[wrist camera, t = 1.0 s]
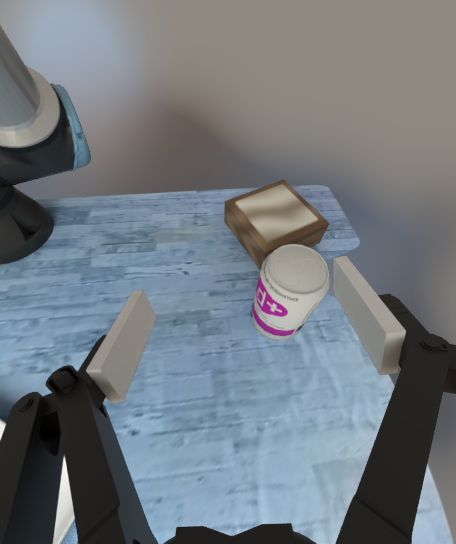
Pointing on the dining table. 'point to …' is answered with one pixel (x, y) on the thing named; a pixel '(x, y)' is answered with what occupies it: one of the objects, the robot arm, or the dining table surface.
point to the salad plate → (59, 502)
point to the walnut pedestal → (273, 220)
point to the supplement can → (288, 291)
